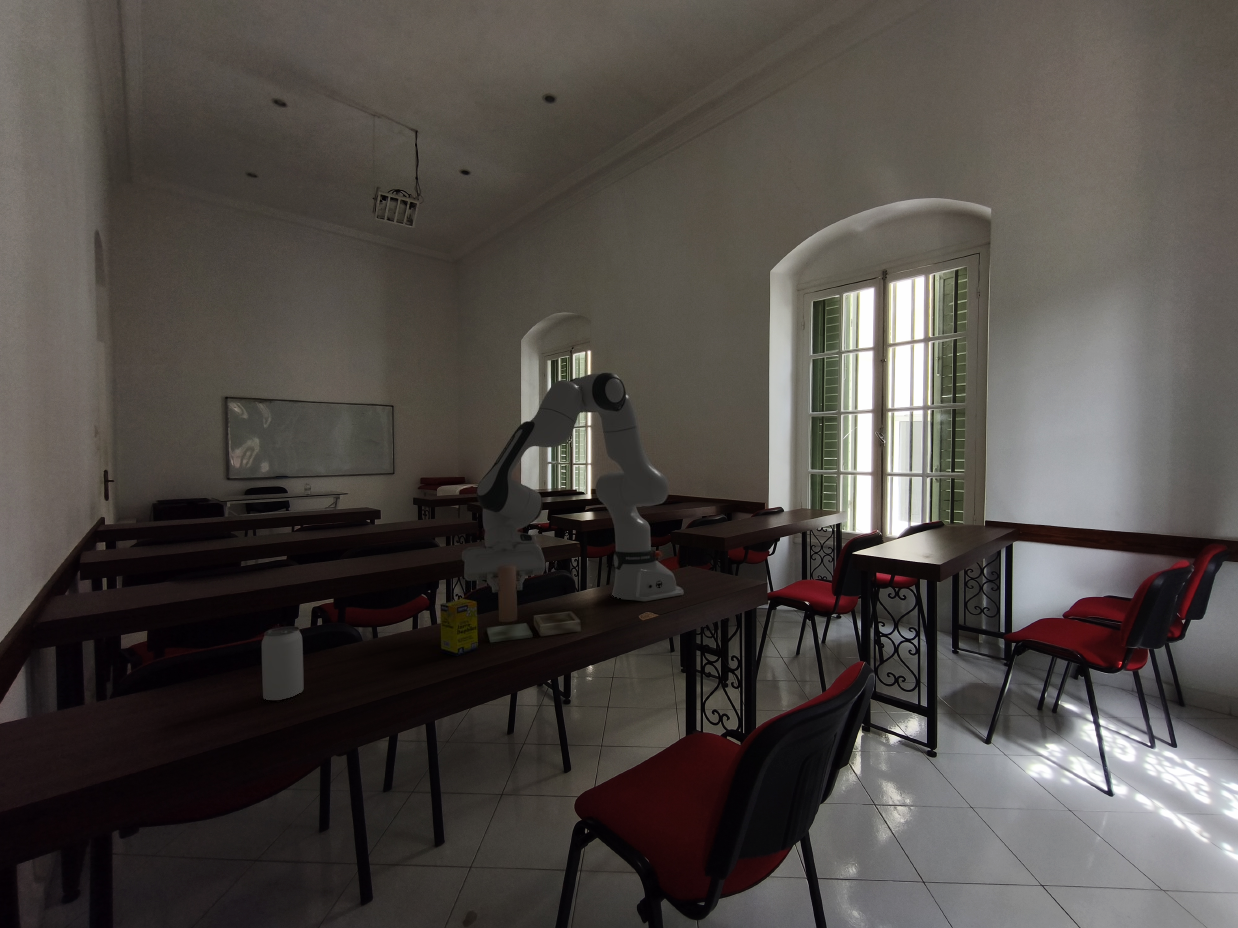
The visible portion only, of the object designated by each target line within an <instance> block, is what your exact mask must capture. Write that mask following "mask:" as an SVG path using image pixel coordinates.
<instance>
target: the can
mask: <svg viewBox="0 0 1238 928" xmlns="http://www.w3.org/2000/svg"><path fill="white" fill-rule="evenodd" d="M263 635H264V637H263V638H262V640H261V667H262V668H261V670H262V671H261V673H262V674H261V675H262V678H261V679H262V696H263V697H262V698H263V699H264V700H265V699H266V700H282V699H286V698H290V697H293V696H295V695H297V694H299V693H301V694H302V692H303V691H304V654H303V653H304V651H303V650H304V649H303V636H302V634H301V631H300V627H299V626H291V625H290V626H282V627H276V628H272V629H269V630H267V631H265V632H264V633H263ZM299 695H300V694H299ZM266 700H265V701H266Z"/></svg>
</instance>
